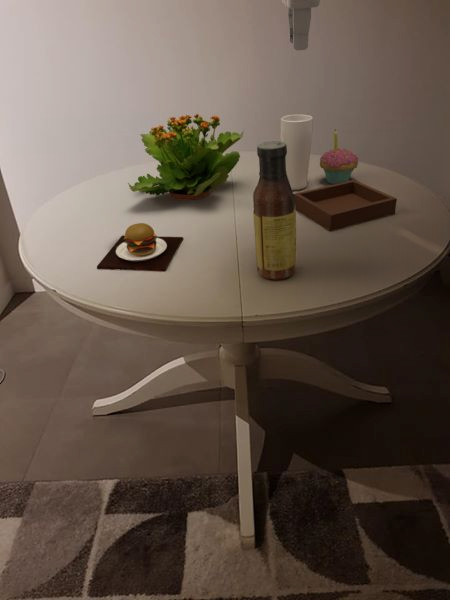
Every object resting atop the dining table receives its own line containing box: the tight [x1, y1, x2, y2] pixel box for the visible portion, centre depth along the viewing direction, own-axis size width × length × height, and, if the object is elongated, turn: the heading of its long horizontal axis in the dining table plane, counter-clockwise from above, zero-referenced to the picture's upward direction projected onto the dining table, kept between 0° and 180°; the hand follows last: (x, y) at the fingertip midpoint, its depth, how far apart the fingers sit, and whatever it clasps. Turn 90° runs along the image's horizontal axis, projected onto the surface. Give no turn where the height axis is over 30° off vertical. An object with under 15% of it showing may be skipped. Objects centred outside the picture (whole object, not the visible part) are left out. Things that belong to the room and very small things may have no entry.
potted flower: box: [127, 113, 245, 201], centre depth 103 cm, size 25×24×18 cm
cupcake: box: [319, 128, 359, 185], centre depth 105 cm, size 9×8×12 cm
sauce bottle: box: [252, 140, 297, 280], centre depth 69 cm, size 7×6×20 cm
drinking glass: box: [279, 113, 314, 191], centre depth 102 cm, size 7×7×15 cm
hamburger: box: [96, 222, 184, 272], centre depth 81 cm, size 12×12×6 cm
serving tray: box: [293, 179, 398, 232], centre depth 92 cm, size 15×13×3 cm
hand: (297, 46), depth 64 cm, fingers open, 8 cm apart
